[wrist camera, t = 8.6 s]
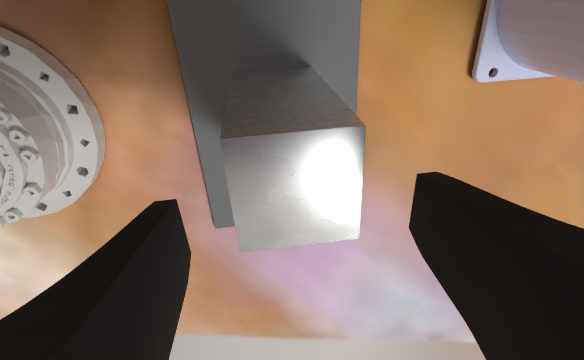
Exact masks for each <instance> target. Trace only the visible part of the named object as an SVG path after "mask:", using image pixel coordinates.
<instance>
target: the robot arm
mask: <svg viewBox="0 0 584 360" xmlns="http://www.w3.org/2000/svg"><path fill="white" fill-rule="evenodd" d="M492 68H493V72H492V74H491V75H490V76H489V71H490V70H491V69H492ZM552 76H557V77H561V78H565V79H569V80H573V81H577V82H581V83H584V0H487V5H486V9H485V14H484V19H483V24H482V28H481V33H480V38H479V43H478V47H477V52H476V57H475V61H474V66H473V71H472V78H473V79H474V80H475V81H477V82H481V83H483V82H495V81H506V80H518V79H529V78H540V77H552ZM409 229H410V231H411V234H412V236H413V238H414V240H415V243H416V245H417V247H418V249H419V251H420V253H421V255H422V256H423V258H424V260H425V261H426V263H427V264H428V266H429V267H430V269H431V270H432V272H433V273H434V275H435V277H436V278H437V280H438V281H439V283H440V284H441V286H442V287H443V289H444V290H445V292H446V293H447V295H448V296H449V298H450V299H451V301H452V302H453V304H454V305H455V307H456V308H457V310H458V311H459V313H460V314H461V316H462V317H463V319H464V321H465V322H466V324H467V325H468V327H469V329H470V330H471V332H472V334H473V336H474V338H475V339H476V341H477V343H478V345H479V347H480V349H481V351H482V353H483V354H484V356H485V358H486V360H584V229H583V228H580V227H577V226H573V225H570V224H567V223H565V222H562V221H559V220H556V219H553V218H550V217H548V216H545V215H543V214H540V213H537V212H535V211H532V210H529V209H527V208H524V207H522V206H519V205H517V204H514V203H512V202H510V201H507V200H505V199H502V198H500V197H498V196H495V195H493V194H491V193H488V192H486V191H484V190H481V189H479V188H477V187H474V186H472V185H470V184H467V183H465V182H463V181H460V180H458V179H455V178H453V177H450V176H448V175H445V174H442V173H439V172H430V173H420V174H417V178H416V184H415V191H414V197H413V204H412V210H411V217H410V223H409ZM190 259H191V251H190V247H189V244H188V240H187V236H186V233H185V229H184V225H183V222H182V218H181V214H180V211H179V207H178V204H177V200H176V199H173V200H164V201H155V202H153V203H152V204H151V205H149V206H148V207H147V208H146V209H145V210H144V211H142V212H141V213H140V214H139V215H138V216H137V217H136V218H134V219H133V220H132V221H131V222H130V223H129V224H128V225H127V226H125V227H124V228H123V229H122V230H121V231H120V232H118V233H117V234H116V235H115V236H114V237H113V238H112V239H110V240H109V241H108V242H107V243H106V244H105V245H103V246H102V247H101V248H100V249H99V250H97V251H96V252H95V253H94V254H92V255H91V256H90V257H89V258H87V259H86V260H85V261H84V262H82V263H81V264H80V265H79V266H77V267H76V268H75V269H74V270H72V271H71V272H70V273H69V274H67V275H66V276H65V277H63V278H62V279H60V280H59V281H58V282H56V283H55V284H54V285H52V286H51V287H49V288H48V289H47V290H45V291H44V292H42V293H41V294H39V295H38V296H36V297H35V298H33V299H32V300H30V301H29V302H28V303H26V304H25V305H23V306H22V307H20V308H19V309H17V310H15V311H14V312H12V313H11V314H9V315H7V316H6V317H4V318H2V319H1V320H0V360H169V356H170V352H171V348H172V344H173V341H174V337H175V333H176V329H177V325H178V321H179V317H180V313H181V309H182V305H183V301H184V297H185V293H186V289H187V285H188V277H189V269H190Z"/></svg>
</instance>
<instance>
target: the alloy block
mask: <svg viewBox="0 0 584 360" xmlns="http://www.w3.org/2000/svg"><path fill="white" fill-rule="evenodd" d="M365 127H366V125H365V124H364V123H363V122H362V121H361V120H360V119H359V118H358V117H357V115H356V114H355V113H354V112H353V111H352V110H351V109H350V108H349V107H348V106H347V105H346V103H345V102H344V101H343V100H342V99H341V98H340V97H339V96H338V95H337V94H336V92H335V91H334V90H333V89H332V88H331V87H330V86H329V85H328V84H327V83H326V82H325V80H324V79H323V78H322V77H321V76H320V75H319V74H318V73H317V72H316V71H315V69H314V68H313V67H312V66H301V67H288V68H276V69H263V70H251V71H238V72H233V74H232V79H231V84H230V89H229V94H228V99H227V104H226V109H225V114H224V119H223V124H222V129H221V134H220V145H221V150H222V156H223V162H224V167H225V173H226V179H227V184H228V190H229V196H230V201H231V207H232V213H233V218H234V224H235V230H236V235H237V241H238V247H239V252H240V253H242V252H251V251H259V250H267V249H275V248H284V247H292V246H300V245H308V244H316V243H325V242H333V241H341V240H349V239H358V238H359V228H360V211H361V194H362V177H363V161H364V144H365Z"/></svg>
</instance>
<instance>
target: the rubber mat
mask: <svg viewBox="0 0 584 360" xmlns="http://www.w3.org/2000/svg"><path fill="white" fill-rule="evenodd" d="M166 2H167V7H168V11H169V16H170V21H171V25H172V30H173V34H174V39H175V44H176V48H177V53H178V58H179V62H180V67H181V72H182V76H183V81H184V86H185V90H186V95H187V100H188V104H189V109H190V114H191V118H192V123H193V127H194V132H195V137H196V141H197V146H198V151H199V155H200V160H201V165H202V169H203V174H204V179H205V183H206V188H207V193H208V197H209V202H210V207H211V211H212V216H213V220H214V225H215V228H223V227H232V226H235V224H234V218H233V213H232V207H231V201H230V196H229V190H228V184H227V179H226V173H225V167H224V162H223V156H222V150H221V145H220V134H221V129H222V124H223V119H224V114H225V109H226V104H227V99H228V94H229V89H230V84H231V79H232V74H233V72H238V71H251V70H263V69H276V68H288V67H301V66H312V67H313V68H314V69H315V71H316V72H317V73H318V74H319V75H320V76H321V77H322V78H323V79H324V80H325V82H326V83H327V84H328V85H329V86H330V87H331V88H332V89H333V90H334V91H335V92H336V94H337V95H338V96H339V97H340V98H341V99H342V100H343V101H344V102H345V103H346V105H347V106H348V107H349V108H350V109H351V110H352V111H353V112H354V113H355V114H356V105H357V82H358V59H359V36H360V13H361V0H166Z"/></svg>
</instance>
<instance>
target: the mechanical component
mask: <svg viewBox="0 0 584 360" xmlns="http://www.w3.org/2000/svg"><path fill="white" fill-rule="evenodd" d="M104 155H105V135H104V129H103V123H102V121H101V118H100V116H99V113H98V110H97V108H96V106H95V104H94V103H93V101H92V100H91V98H90V97H89V95H88V94H87V92H86V91H85V89H84V87H83V86H82V84H81V83H80V81H79V80H78V79H77V78H76V77H75V76H74V75H73V74H72V73H71V72H70V71H69V70H68V69H67V68H66V67H65V66H64V65H62V64H61V63H60V62H59V61H58V60H57V59H56V58H55V57H54V56H53V55H51V54H50V53H48V52H47V51H45V50H44V49H42V48H41V47H39V46H38V45H36V44H35V43H34V42H32V41H30V40H28V39H26V38H24V37H22V36H20V35H18V34H15V33H13V32H11V31H9V30H7V29H5V28H1V27H0V229H1V228H2V227H3V226H4V225H5V224H9V223H11V222H17V221H19V220H20V219H21V218H33V217H38V216H42V215H47V214H51V213H55V212H57V211H59V210H61V209H63V208H64V207H66V206H68V205H70V204H72V203H73V202H75V201H76V200H77V199H78V198H79V197H80V196H81V195H82V194H83V193H84V191H85V190H86V189H87V188H88V187H89V186H90V185H91V184H92V183H93V181H94V180H95V179H96V178H97V176H98V173H99V171H100V168H101V166H102V163H103V160H104Z"/></svg>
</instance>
